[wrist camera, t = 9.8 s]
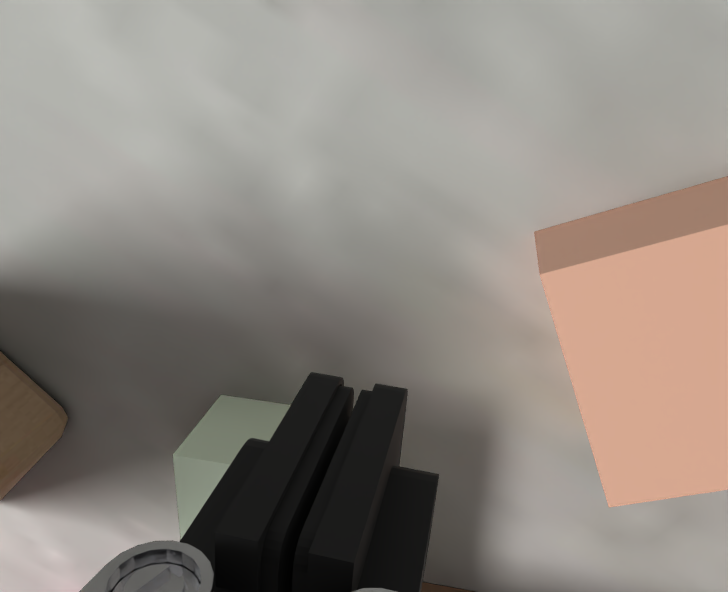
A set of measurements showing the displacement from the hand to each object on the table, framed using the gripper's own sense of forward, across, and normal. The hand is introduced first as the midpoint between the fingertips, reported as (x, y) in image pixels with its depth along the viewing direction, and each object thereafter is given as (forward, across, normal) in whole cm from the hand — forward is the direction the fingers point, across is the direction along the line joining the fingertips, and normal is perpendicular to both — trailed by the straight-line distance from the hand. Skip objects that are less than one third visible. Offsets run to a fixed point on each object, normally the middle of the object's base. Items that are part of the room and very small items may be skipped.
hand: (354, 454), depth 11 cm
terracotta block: (+15, -9, +2) cm, 18 cm away
